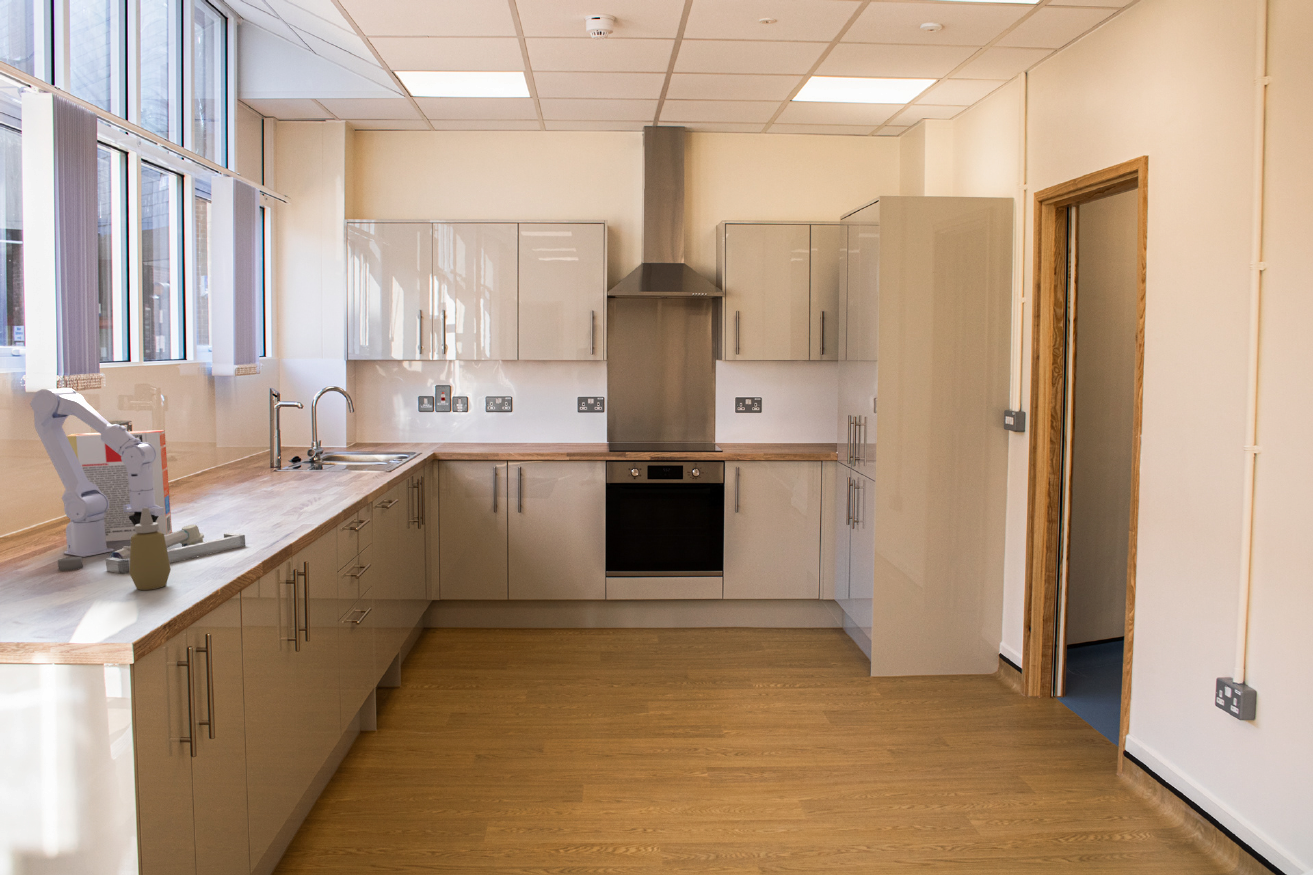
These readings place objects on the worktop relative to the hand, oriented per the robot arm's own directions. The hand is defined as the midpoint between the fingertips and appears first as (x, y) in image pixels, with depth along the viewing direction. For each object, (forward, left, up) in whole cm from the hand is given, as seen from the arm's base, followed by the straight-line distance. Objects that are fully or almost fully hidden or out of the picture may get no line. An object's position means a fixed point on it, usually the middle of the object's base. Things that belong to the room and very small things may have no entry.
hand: (145, 540), depth 237 cm
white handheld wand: (+6, 0, -4) cm, 7 cm away
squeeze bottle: (+36, -21, -3) cm, 42 cm away
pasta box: (-25, +9, -3) cm, 27 cm away
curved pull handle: (+14, 0, -3) cm, 15 cm away
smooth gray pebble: (0, -19, -3) cm, 19 cm away
